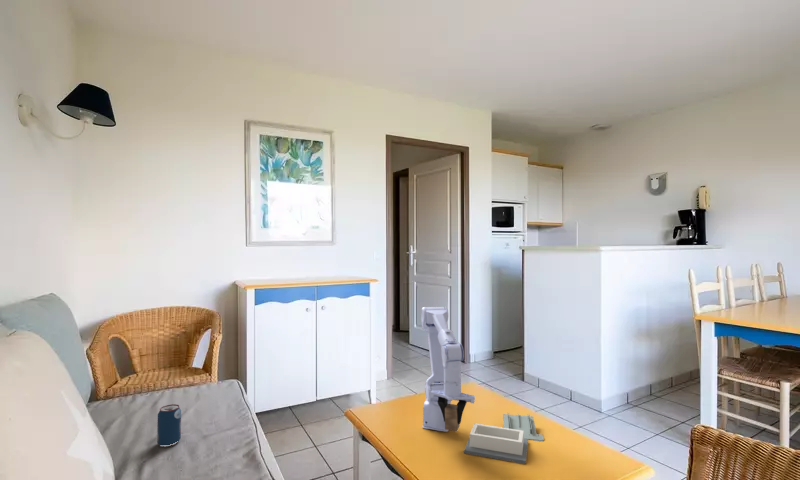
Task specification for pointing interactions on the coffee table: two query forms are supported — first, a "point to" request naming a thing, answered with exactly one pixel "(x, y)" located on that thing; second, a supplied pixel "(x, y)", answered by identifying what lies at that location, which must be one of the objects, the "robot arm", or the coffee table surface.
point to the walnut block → (451, 417)
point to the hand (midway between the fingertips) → (452, 421)
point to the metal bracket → (522, 426)
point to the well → (497, 443)
